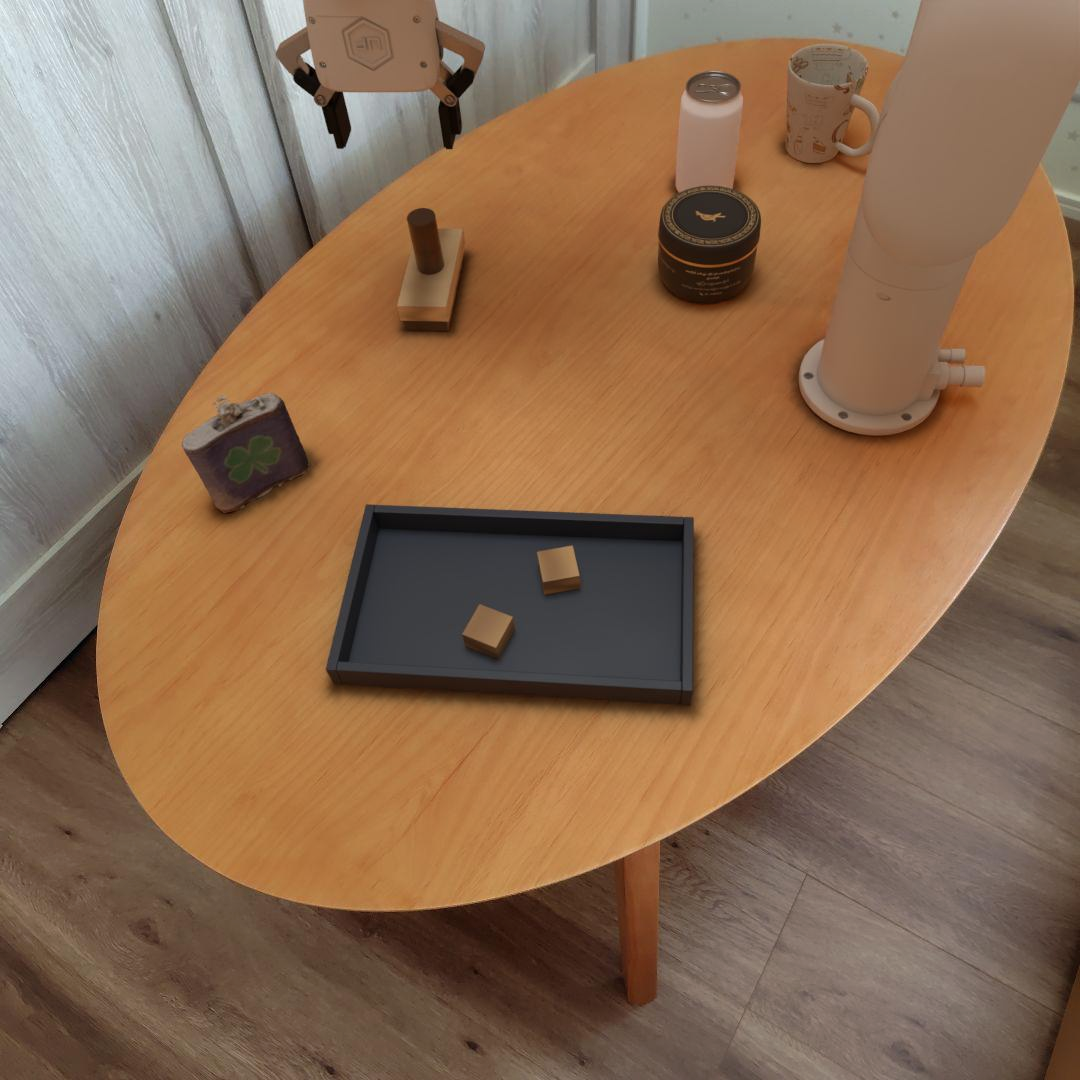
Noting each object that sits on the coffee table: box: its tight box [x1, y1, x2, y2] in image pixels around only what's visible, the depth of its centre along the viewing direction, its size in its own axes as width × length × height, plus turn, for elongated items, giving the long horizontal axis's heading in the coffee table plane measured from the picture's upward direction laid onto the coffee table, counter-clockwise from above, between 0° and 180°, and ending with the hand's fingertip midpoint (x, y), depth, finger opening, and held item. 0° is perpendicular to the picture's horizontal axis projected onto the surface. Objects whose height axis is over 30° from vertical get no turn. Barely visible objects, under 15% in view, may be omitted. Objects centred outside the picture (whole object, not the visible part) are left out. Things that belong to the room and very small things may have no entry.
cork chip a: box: [537, 546, 580, 595], centre depth 77 cm, size 3×3×2 cm
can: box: [675, 70, 744, 193], centre depth 101 cm, size 6×6×12 cm
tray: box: [325, 503, 695, 707], centre depth 76 cm, size 28×16×3 cm, turn 85°
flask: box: [181, 392, 311, 514], centre depth 82 cm, size 9×3×11 cm, turn 125°
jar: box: [657, 186, 762, 305], centre depth 95 cm, size 10×10×8 cm
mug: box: [785, 43, 880, 164], centre depth 104 cm, size 8×13×10 cm, turn 43°
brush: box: [396, 207, 466, 332], centre depth 95 cm, size 5×12×10 cm, turn 175°
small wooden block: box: [462, 604, 515, 659], centre depth 74 cm, size 3×3×2 cm
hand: (397, 140), depth 84 cm, fingers open, 9 cm apart
